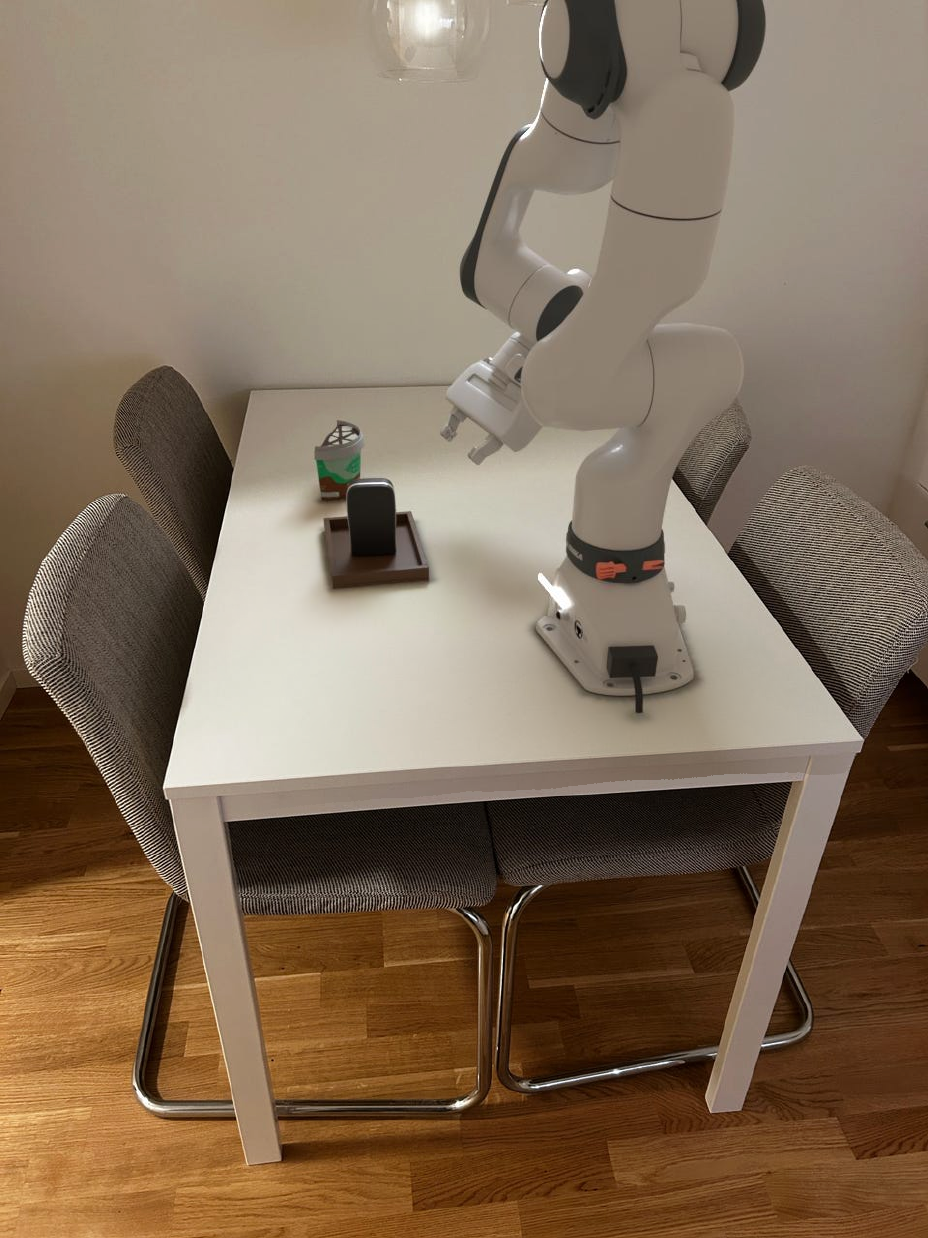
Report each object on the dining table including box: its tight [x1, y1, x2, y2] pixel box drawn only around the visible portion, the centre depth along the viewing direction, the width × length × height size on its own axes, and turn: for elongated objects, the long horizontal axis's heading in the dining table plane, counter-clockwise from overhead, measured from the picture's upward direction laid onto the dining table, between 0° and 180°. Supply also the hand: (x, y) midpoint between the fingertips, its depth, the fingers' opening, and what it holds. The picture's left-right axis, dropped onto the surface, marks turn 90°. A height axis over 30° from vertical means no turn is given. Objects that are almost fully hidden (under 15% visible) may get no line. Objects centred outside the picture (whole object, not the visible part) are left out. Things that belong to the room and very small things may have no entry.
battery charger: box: [345, 477, 397, 556], centre depth 136 cm, size 7×4×11 cm, turn 95°
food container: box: [314, 419, 366, 502], centre depth 154 cm, size 12×6×10 cm, turn 168°
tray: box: [323, 510, 430, 590], centre depth 139 cm, size 18×14×2 cm
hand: (457, 449), depth 137 cm, fingers open, 8 cm apart
